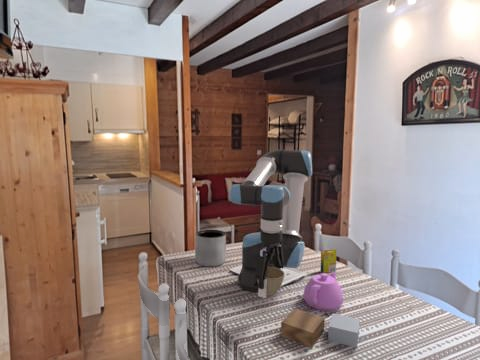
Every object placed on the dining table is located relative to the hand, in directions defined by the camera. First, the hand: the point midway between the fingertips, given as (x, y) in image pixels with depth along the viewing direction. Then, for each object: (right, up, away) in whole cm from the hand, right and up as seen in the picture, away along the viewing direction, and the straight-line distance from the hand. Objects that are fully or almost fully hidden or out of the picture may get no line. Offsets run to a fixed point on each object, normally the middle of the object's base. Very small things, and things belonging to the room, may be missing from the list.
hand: (269, 290), depth 119 cm
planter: (-26, -4, +58) cm, 64 cm away
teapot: (+23, -11, +17) cm, 30 cm away
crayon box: (+34, -7, +49) cm, 60 cm away
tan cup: (0, -1, 0) cm, 0 cm away
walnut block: (+11, -13, -6) cm, 18 cm away
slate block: (+24, -13, -7) cm, 28 cm away
